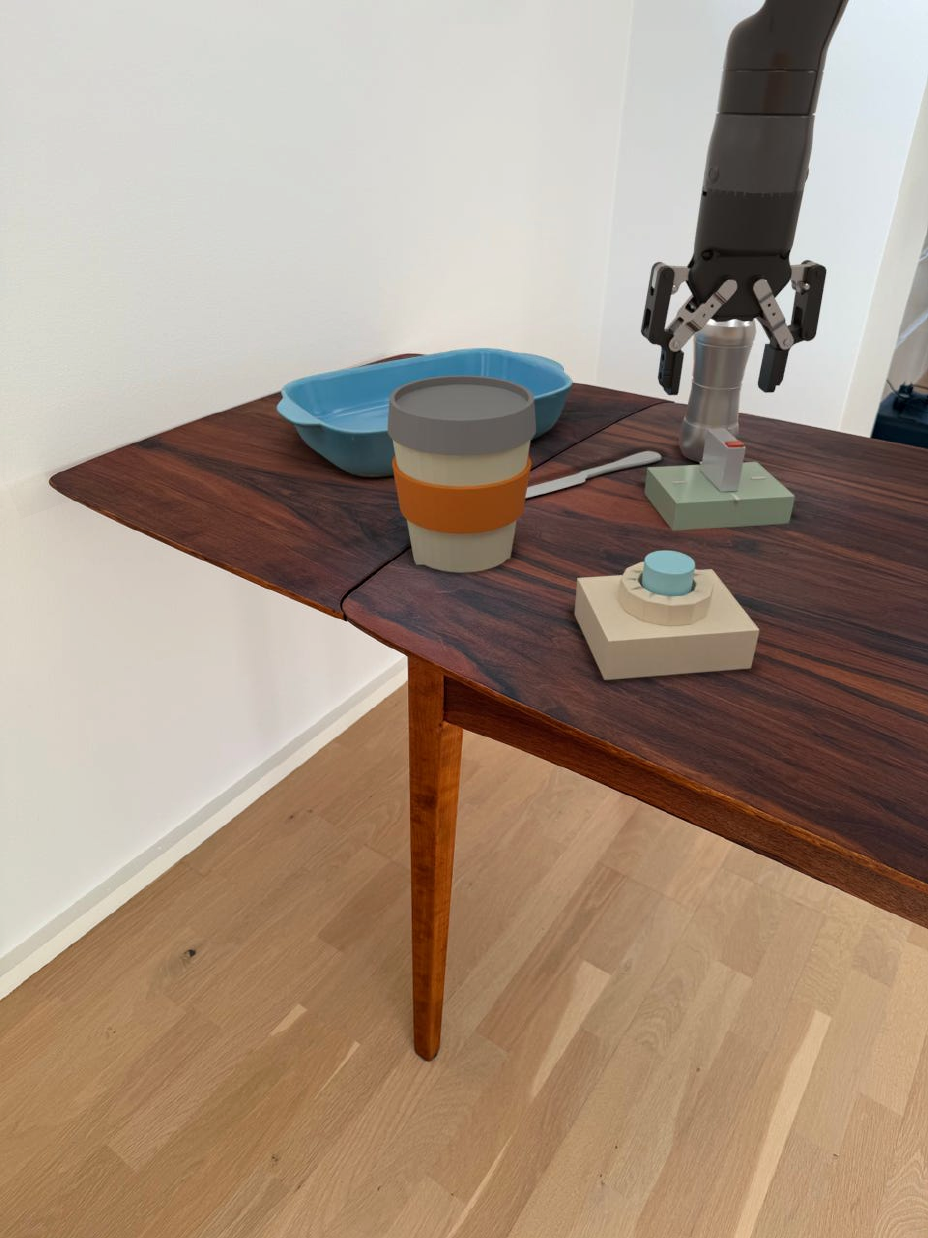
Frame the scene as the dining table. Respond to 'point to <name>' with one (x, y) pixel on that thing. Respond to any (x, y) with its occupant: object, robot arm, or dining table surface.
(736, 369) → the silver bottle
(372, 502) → the dining table surface
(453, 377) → the reusable coffee cup
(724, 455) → the tap knob
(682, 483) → the panel
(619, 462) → the butter knife
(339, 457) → the casserole dish
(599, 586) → the beige button housing
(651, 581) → the light blue puck
